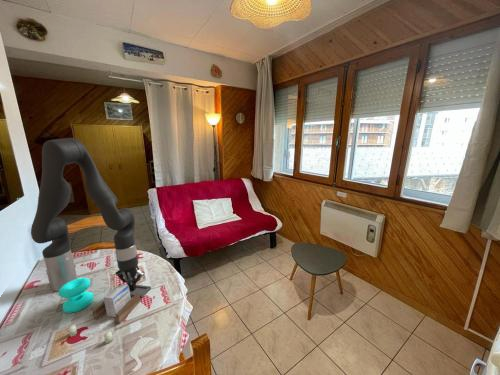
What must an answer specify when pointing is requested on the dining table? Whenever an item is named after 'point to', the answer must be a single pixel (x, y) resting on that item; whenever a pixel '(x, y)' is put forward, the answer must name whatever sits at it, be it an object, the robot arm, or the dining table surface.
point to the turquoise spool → (76, 295)
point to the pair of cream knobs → (107, 335)
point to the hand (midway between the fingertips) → (132, 290)
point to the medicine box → (117, 299)
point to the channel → (122, 312)
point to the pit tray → (140, 290)
